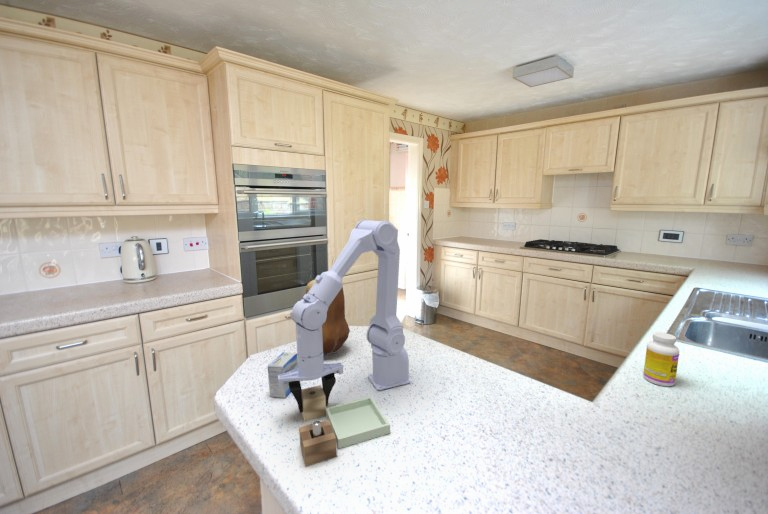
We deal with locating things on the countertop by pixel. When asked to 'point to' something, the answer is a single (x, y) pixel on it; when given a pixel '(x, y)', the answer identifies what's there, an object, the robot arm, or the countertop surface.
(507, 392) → the countertop surface
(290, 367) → the medicine box
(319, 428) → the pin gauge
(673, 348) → the supplement bottle
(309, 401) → the block
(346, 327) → the butternut squash
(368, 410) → the tray
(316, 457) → the slotted wooden block
